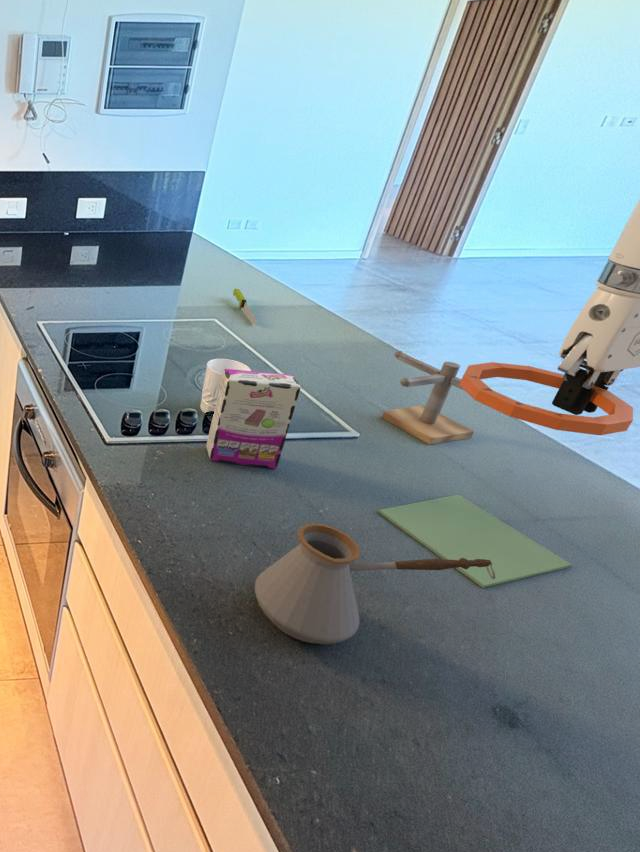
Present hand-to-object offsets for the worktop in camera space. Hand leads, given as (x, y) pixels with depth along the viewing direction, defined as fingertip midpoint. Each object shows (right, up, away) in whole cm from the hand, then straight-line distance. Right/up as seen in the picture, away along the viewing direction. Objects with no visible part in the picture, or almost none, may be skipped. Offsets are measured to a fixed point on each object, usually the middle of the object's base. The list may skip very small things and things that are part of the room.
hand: (572, 407), depth 84 cm
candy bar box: (-32, -11, +27) cm, 43 cm away
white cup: (-28, -4, +41) cm, 50 cm away
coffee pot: (-36, -28, -7) cm, 46 cm away
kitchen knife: (+3, +20, +90) cm, 92 cm away
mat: (-7, -20, +8) cm, 23 cm away
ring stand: (+6, -7, +35) cm, 36 cm away
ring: (-7, +2, -3) cm, 8 cm away
